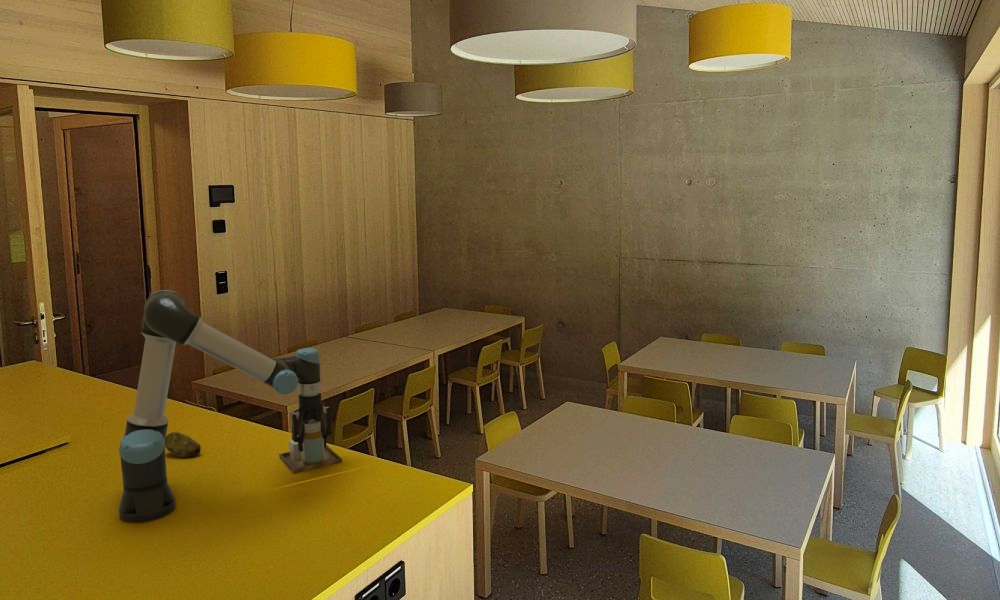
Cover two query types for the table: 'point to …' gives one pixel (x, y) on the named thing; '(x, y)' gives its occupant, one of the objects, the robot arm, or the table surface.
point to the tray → (299, 466)
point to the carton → (294, 450)
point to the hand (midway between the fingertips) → (312, 457)
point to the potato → (182, 445)
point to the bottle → (313, 443)
